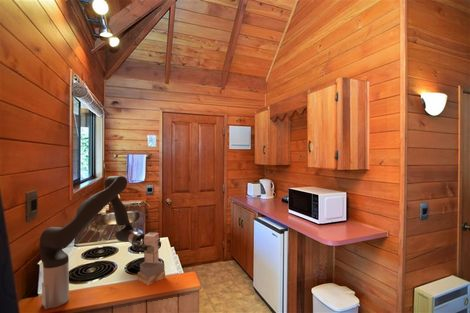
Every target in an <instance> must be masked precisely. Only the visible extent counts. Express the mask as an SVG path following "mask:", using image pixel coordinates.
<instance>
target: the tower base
mask: <svg viewBox="0 0 470 313" xmlns="http://www.w3.org/2000/svg"><path fill="white" fill-rule="evenodd" d="M163 278H164V279H165V278H166V271H164V272H162V273H159V274H157V275H154V276H152V277H147V276H145V275H144V274H142V273H141V272H140V271H138V272H137V281H140V280H141V281H142V282H141V281H140V282H141V283H143V282H144V283H143V284H145V283H146V284H147V286H150V285H149V284H151V283H153V284H155V283H157V282H159V280H160V281H161V279H162V280H164V279H163ZM154 282H155V283H154ZM146 284H145V285H146ZM151 285H152V284H151Z"/></svg>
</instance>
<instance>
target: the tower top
mask: <svg viewBox="0 0 470 313" xmlns="http://www.w3.org/2000/svg"><path fill="white" fill-rule="evenodd" d="M165 268H166V267H165V263H164V262H162V261H160V260H159V259H158V260H157V261H156V262H155V263H144V262H143V263H141V264H139V272H141V273H142V274H144V275H145V276H147V277H152V276H154V275H157V274H159V273H162V272H164V271H165ZM165 272H166V271H165Z"/></svg>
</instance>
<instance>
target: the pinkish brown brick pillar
mask: <svg viewBox="0 0 470 313" xmlns="http://www.w3.org/2000/svg"><path fill="white" fill-rule="evenodd" d="M159 238H160V237H159V232H147V233H146V235H145V236H144V245H146V246H147V250H143V259H144V260H143V263H155V262H156V261H157V260H158V261H159V259H160V258H159V256H160V255H159V246H158V240H159Z"/></svg>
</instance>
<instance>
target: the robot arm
mask: <svg viewBox="0 0 470 313" xmlns="http://www.w3.org/2000/svg"><path fill="white" fill-rule="evenodd" d="M103 184H104V189H103V190H100V191H99V192H97V193H95V194H92V195H90V196H89V197H88V198H86V199H85V200H84V201H83V202H82V203H80V205H79V206H78V207H77V210H76V212H75V213H76V214H75V216H74V217H73V219H72V220H71V221H69V223H67V224H66V225H65V226H63V227H59V226H58V227H57V226H50V227H47V228H46V229H44V230H43V231H42V232H41V235H40V238H39V254H40V256H39V257H40V261H41V262H42V278H43V279H42V283H41V305H42V306H43V308H44V310H48V309H54V308H58V307H61V306H63V305H64V304H66V303H67V302H68V301H69V300H70V287H69V286H70V278H69V277H70V273H69V272H70V271H69V268H70V265H69V263H70V262H69V261H70V259H69V254H67V253H66V252H65V251H64V249H66V248H67V247H68V246H70V245H71V244H72V243H73V241H74V240H75V239H76V237H77V236H78V235H79V234H80V233H81V232H82V231H83V229H84V228H85V227H86V226H87V225H88V224H89V223H90V222H91V221H92V220H93V219H94V218H95V217H96V216H97V215H98V214H100V212H101V211H103V209H104V208H105V207H106V206H107V205H108V204H109V203H110V204H111V207H112V210H113V214H114V219H115V223H116V226H119V227H120V226H123V227H122V228H119V229H117V230H116V231H115V233H114V237H115V238H116V240H117V241H119V242H123V243H130V244H131V248H132V249H134V250H136V251H138V250H142V251H144V250H147V246H146V245H144V236H145V235H146V234H147V233H146V234H145V233H143V232H140V231H137V230H135V229H134V227H133V225H132V223H131V222H130V219H129V214H128V210H127V208H126V206H125V204H124V203H123V202H122V200H121V199H120V197H119V195H120V194H121V193H122V192H124V191H125V189H126V188H127V186H128V179H127V177H125V176H123V175H111V176H107V177H106V178H105V180H104V182H103ZM160 246H162V241H161V238H160V237H159V240H158V247H160Z"/></svg>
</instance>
